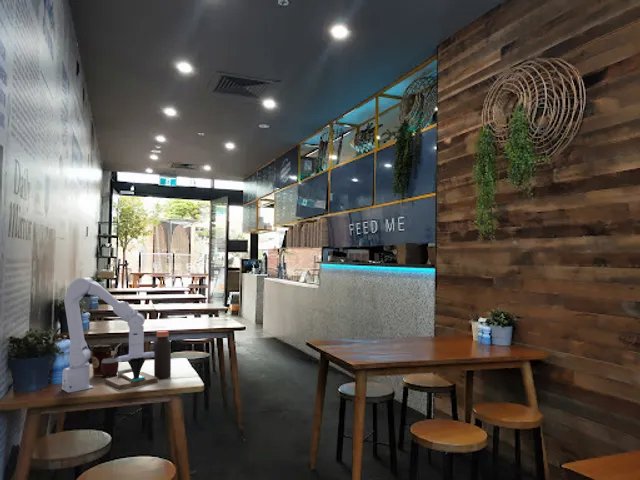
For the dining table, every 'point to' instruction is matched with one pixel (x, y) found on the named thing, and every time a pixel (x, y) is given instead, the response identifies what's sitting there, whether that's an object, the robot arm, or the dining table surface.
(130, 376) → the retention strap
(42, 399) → the dining table surface
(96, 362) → the dark brown jar
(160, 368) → the bottle
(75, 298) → the robot arm
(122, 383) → the base plate
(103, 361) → the mate gourd
